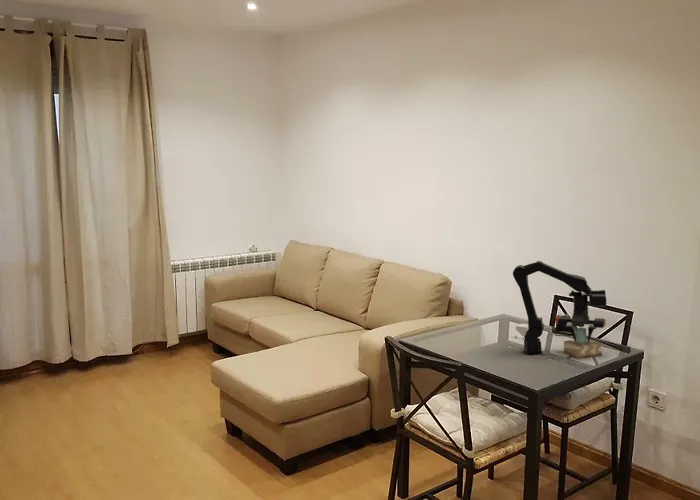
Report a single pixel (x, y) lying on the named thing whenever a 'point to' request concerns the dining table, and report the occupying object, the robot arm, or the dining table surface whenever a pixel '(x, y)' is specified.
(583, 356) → the bore block
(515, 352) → the dining table surface
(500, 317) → the dining table surface
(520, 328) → the light grey cone
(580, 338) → the peg
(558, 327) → the battery
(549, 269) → the robot arm
